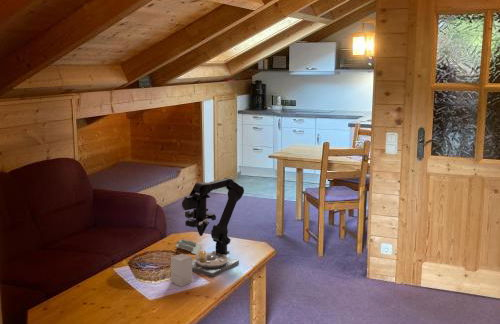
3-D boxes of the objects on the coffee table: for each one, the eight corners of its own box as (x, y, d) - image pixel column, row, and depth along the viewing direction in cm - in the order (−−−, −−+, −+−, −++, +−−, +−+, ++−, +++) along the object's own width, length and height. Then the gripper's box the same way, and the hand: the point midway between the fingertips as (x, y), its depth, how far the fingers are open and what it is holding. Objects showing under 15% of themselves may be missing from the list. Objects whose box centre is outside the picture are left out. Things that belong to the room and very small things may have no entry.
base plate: (210, 256, 287) (210, 252, 287) (238, 263, 277) (238, 259, 276) (182, 268, 269) (182, 264, 269) (212, 277, 259) (212, 272, 258)
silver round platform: (210, 254, 283) (210, 241, 282) (233, 261, 274) (233, 248, 273) (189, 262, 271) (189, 249, 270) (212, 270, 261) (212, 256, 260)
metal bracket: (174, 243, 289) (180, 235, 304) (171, 253, 291) (177, 244, 305) (199, 252, 289) (204, 243, 304) (196, 261, 290) (201, 252, 305)
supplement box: (192, 282, 252) (192, 256, 250) (180, 286, 247) (180, 260, 245) (182, 277, 257) (182, 252, 255) (170, 282, 252) (170, 256, 250)
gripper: (200, 201, 289) (200, 228, 292) (177, 208, 274) (177, 237, 277) (216, 204, 283) (216, 232, 286) (193, 211, 268) (194, 241, 271)
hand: (200, 235), depth 280 cm, fingers closed
